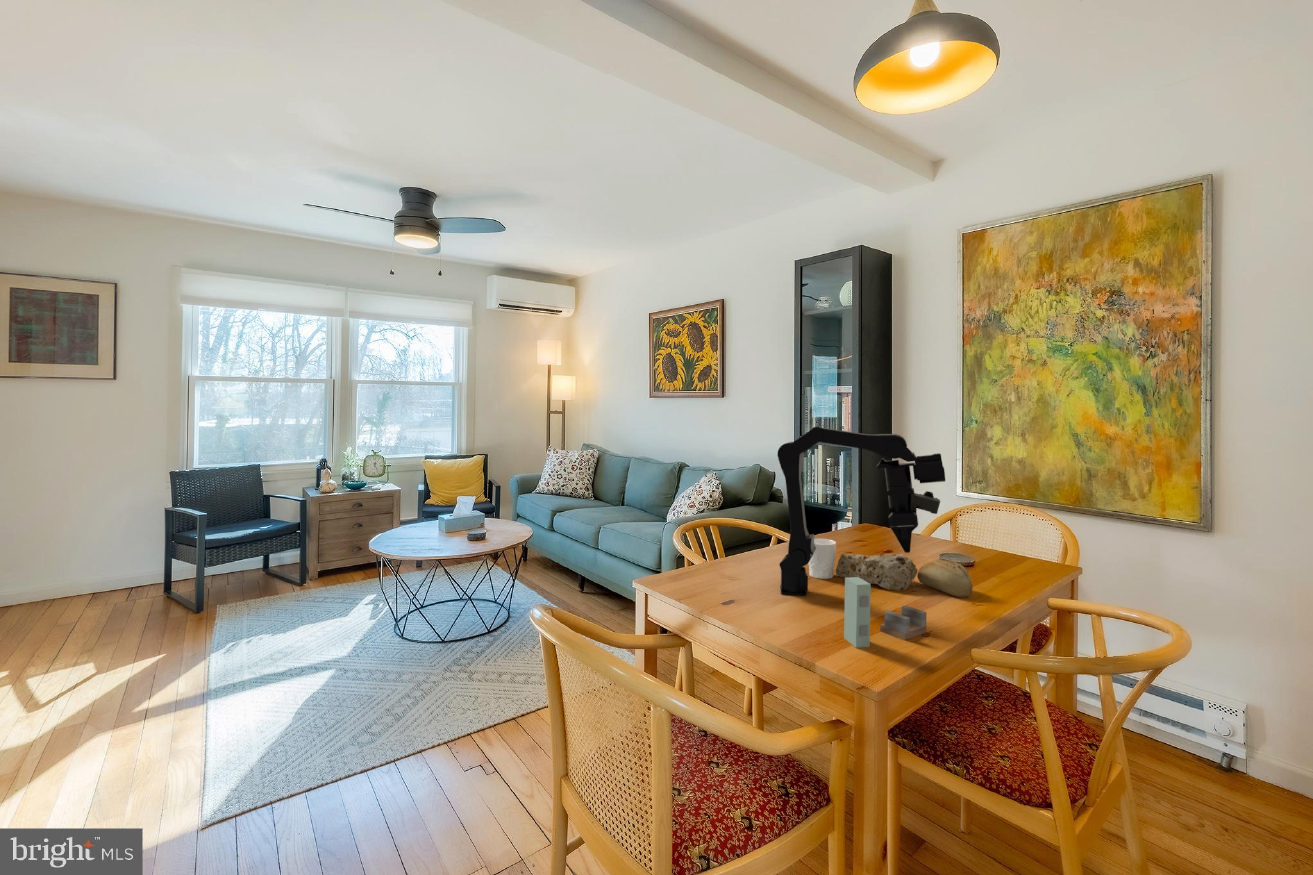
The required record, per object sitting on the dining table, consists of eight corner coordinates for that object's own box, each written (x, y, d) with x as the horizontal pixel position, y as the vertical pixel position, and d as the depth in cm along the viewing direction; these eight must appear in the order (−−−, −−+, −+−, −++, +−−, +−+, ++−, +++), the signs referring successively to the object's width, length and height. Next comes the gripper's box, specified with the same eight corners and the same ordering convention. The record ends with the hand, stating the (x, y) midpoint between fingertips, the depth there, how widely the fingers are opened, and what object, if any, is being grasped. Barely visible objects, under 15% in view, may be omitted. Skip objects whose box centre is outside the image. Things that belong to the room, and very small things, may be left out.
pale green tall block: (843, 638, 122) (845, 577, 122) (857, 637, 123) (858, 577, 122) (856, 648, 117) (858, 585, 116) (870, 647, 117) (871, 584, 117)
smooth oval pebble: (932, 580, 163) (932, 552, 162) (982, 596, 150) (983, 565, 149) (908, 585, 159) (909, 556, 158) (958, 601, 145) (959, 570, 145)
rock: (829, 581, 165) (831, 545, 167) (857, 583, 174) (859, 550, 176) (896, 591, 149) (898, 552, 151) (924, 593, 158) (926, 556, 160)
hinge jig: (880, 630, 126) (880, 610, 126) (901, 623, 130) (901, 604, 130) (904, 640, 121) (905, 619, 121) (926, 632, 125) (926, 612, 125)
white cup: (805, 571, 172) (806, 538, 171) (833, 572, 171) (833, 538, 170) (808, 579, 164) (809, 544, 163) (837, 580, 163) (838, 545, 162)
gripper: (937, 487, 130) (946, 556, 130) (933, 477, 147) (941, 538, 147) (884, 491, 134) (893, 557, 134) (886, 481, 151) (894, 540, 151)
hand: (907, 548), depth 141 cm, fingers open, 9 cm apart
